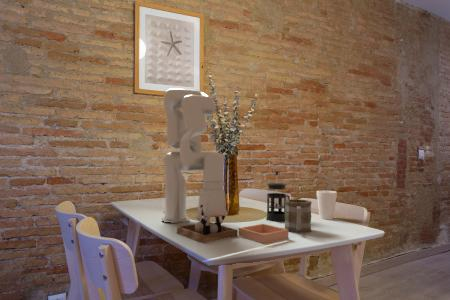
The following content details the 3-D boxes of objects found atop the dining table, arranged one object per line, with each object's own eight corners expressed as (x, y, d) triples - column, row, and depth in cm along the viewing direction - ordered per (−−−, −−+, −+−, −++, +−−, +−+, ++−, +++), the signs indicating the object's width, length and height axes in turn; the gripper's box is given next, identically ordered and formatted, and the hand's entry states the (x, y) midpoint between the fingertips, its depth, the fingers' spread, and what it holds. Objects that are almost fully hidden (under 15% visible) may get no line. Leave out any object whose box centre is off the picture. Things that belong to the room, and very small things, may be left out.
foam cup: (316, 219, 162) (316, 192, 162) (316, 216, 171) (316, 190, 171) (337, 220, 160) (337, 193, 160) (335, 217, 169) (336, 190, 169)
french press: (261, 219, 160) (262, 171, 160) (270, 216, 168) (270, 170, 168) (285, 222, 154) (285, 172, 154) (292, 219, 162) (293, 171, 162)
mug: (284, 226, 146) (284, 198, 146) (310, 227, 145) (310, 199, 145) (284, 235, 131) (284, 204, 131) (313, 237, 129) (313, 205, 129)
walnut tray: (176, 234, 131) (176, 226, 131) (209, 228, 140) (209, 221, 140) (203, 244, 117) (203, 236, 117) (237, 237, 127) (237, 229, 127)
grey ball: (203, 234, 127) (204, 222, 127) (213, 232, 130) (213, 221, 130) (210, 237, 124) (211, 224, 124) (220, 235, 127) (220, 223, 127)
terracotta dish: (238, 237, 127) (238, 228, 127) (262, 232, 136) (263, 223, 136) (263, 245, 117) (263, 235, 117) (288, 239, 126) (288, 229, 126)
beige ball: (192, 232, 131) (192, 221, 131) (201, 231, 134) (201, 219, 134) (198, 234, 128) (199, 223, 128) (208, 233, 131) (208, 221, 131)
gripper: (224, 183, 135) (223, 229, 135) (188, 186, 124) (187, 236, 125) (236, 185, 129) (235, 233, 129) (200, 188, 119) (199, 240, 119)
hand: (212, 234), depth 127 cm, fingers closed on grey ball, 4 cm apart
